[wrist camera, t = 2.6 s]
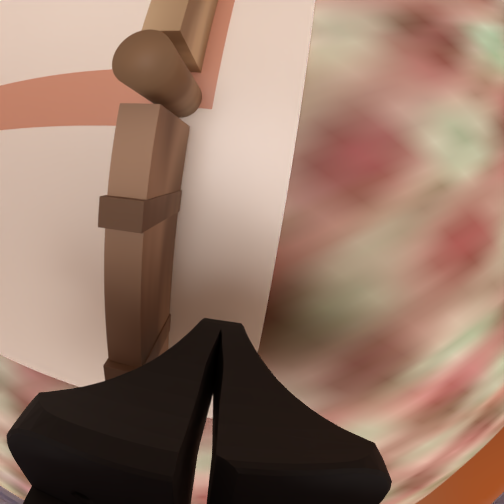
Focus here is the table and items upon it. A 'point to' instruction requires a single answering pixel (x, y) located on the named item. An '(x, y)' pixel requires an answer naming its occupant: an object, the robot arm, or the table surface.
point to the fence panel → (141, 233)
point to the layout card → (98, 167)
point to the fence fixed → (167, 54)
